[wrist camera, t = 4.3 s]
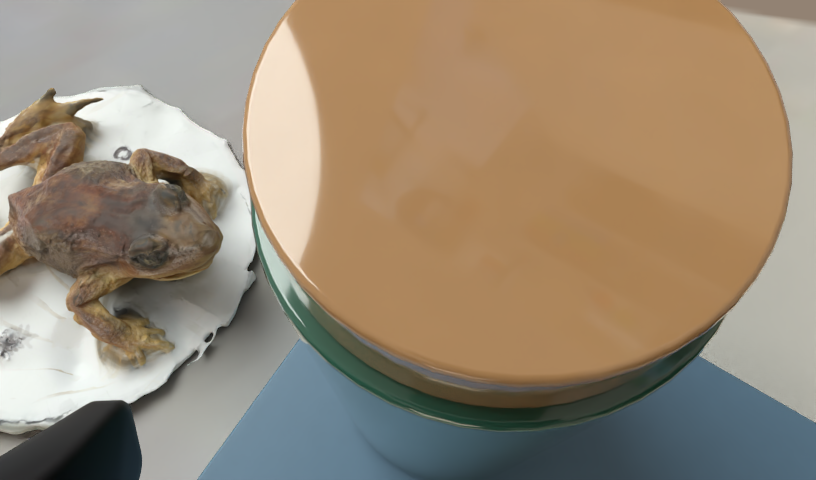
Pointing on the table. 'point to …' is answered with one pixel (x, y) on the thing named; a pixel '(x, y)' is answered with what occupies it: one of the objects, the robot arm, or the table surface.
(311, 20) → the canister
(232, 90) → the table surface
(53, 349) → the frog figurine
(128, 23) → the table surface
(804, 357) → the table surface
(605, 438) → the slate blue base plate
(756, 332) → the table surface
